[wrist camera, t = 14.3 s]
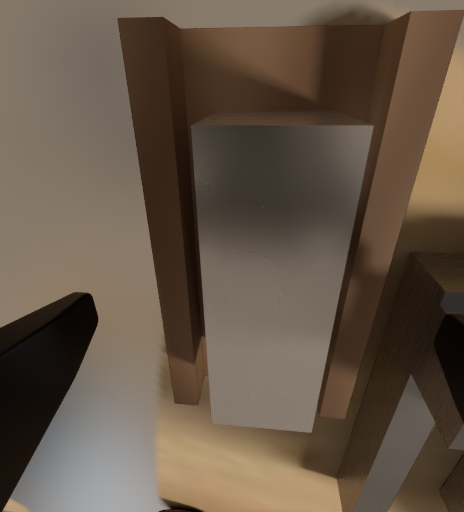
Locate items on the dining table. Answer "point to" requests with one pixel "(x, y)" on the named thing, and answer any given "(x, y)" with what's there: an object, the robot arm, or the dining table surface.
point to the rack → (282, 99)
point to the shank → (273, 255)
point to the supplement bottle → (176, 510)
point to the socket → (407, 392)
